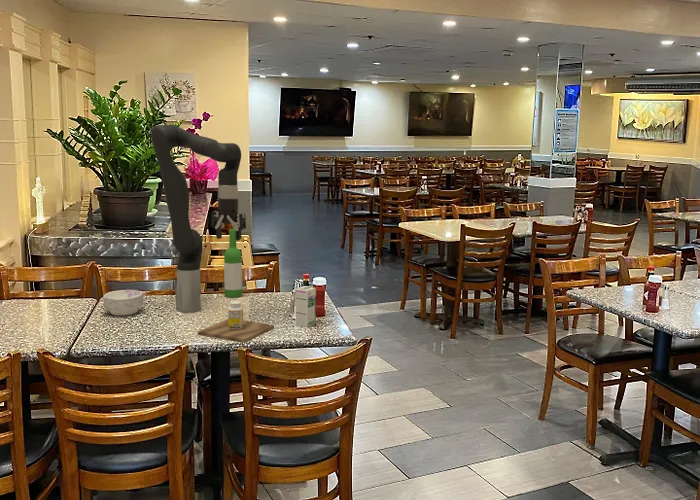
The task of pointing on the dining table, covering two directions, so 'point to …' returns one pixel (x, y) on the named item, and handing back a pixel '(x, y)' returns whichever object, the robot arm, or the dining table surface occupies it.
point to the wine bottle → (233, 268)
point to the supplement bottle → (235, 315)
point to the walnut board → (236, 331)
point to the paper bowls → (123, 302)
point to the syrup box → (305, 306)
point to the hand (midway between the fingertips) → (228, 239)
